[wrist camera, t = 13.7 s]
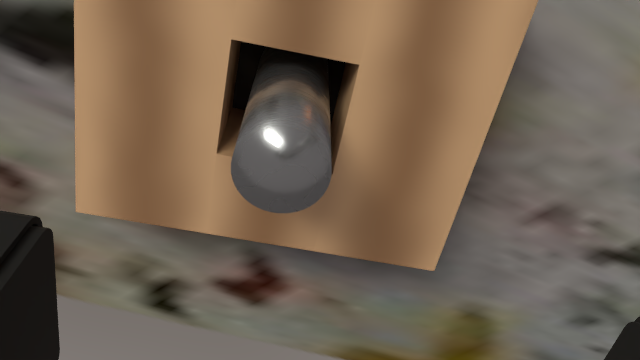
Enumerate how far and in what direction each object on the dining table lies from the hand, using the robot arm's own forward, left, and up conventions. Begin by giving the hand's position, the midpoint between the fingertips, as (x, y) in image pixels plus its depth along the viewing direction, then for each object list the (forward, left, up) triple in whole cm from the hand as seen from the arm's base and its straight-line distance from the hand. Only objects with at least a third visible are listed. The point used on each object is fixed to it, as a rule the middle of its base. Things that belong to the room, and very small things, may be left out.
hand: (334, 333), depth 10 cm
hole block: (+1, +5, -25) cm, 26 cm away
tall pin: (+1, +5, -25) cm, 26 cm away
